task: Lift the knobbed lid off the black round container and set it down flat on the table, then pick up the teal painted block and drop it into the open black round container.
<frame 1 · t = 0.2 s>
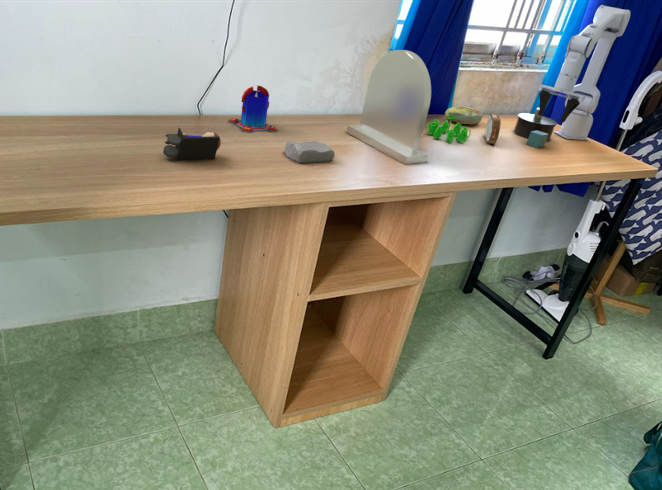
hand: (551, 118, 202), 11 cm above the table, tool pointing down, fingers open, 7 cm apart
block: (535, 145, 211), on the table
lid: (536, 120, 220), point 5 cm above the table, touching black round container
black round container: (531, 135, 223), on the table
cell model: (462, 122, 225), on the table
fantasy tower: (252, 126, 187), on the table
stone block: (307, 157, 169), on the table
character figurine: (192, 158, 157), on the table
award: (385, 147, 187), on the table
tin: (488, 140, 209), on the table
green bumpy cluster: (445, 137, 205), on the table
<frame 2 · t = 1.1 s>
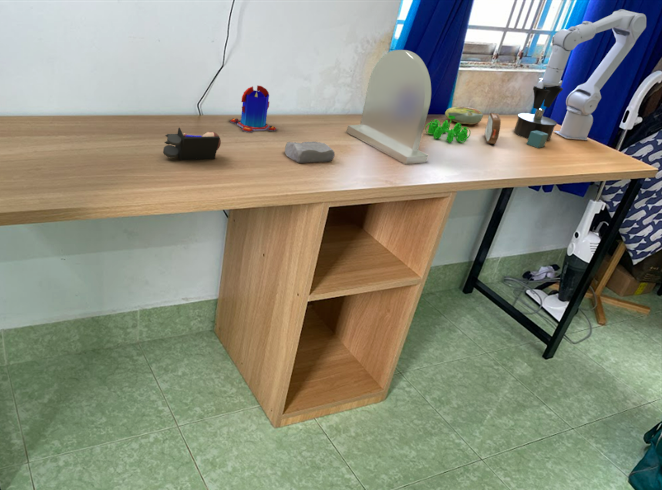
hand: (541, 107, 217), 10 cm above the table, tool pointing down, fingers open, 7 cm apart
nothing on the table moved.
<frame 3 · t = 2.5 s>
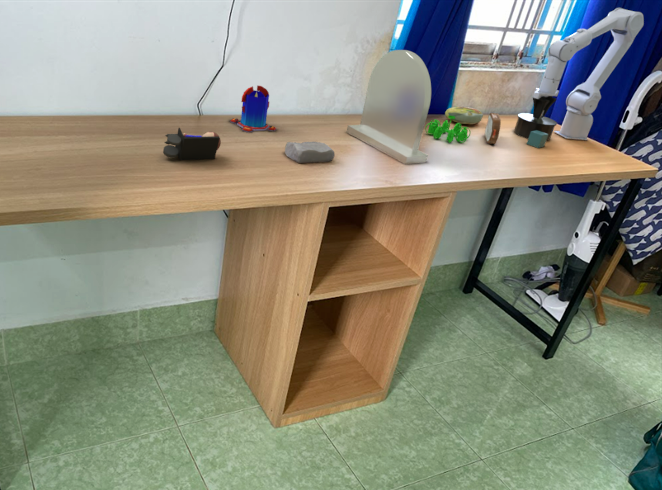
hand: (537, 117, 219), 6 cm above the table, tool pointing down, fingers closed on lid, 2 cm apart
lid: (536, 120, 220), point 5 cm above the table, touching black round container, gripper
everything else where it was.
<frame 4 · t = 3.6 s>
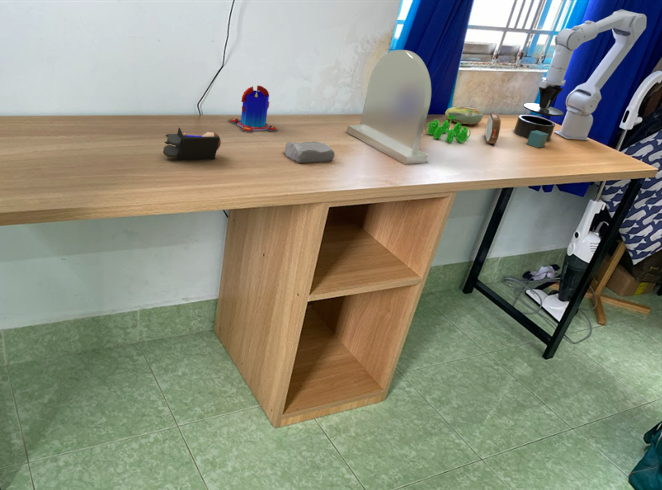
hand: (544, 107, 217), 10 cm above the table, tool pointing down, fingers closed on lid, 2 cm apart
lid: (543, 110, 217), point 9 cm above the table, touching gripper
everything else where it was.
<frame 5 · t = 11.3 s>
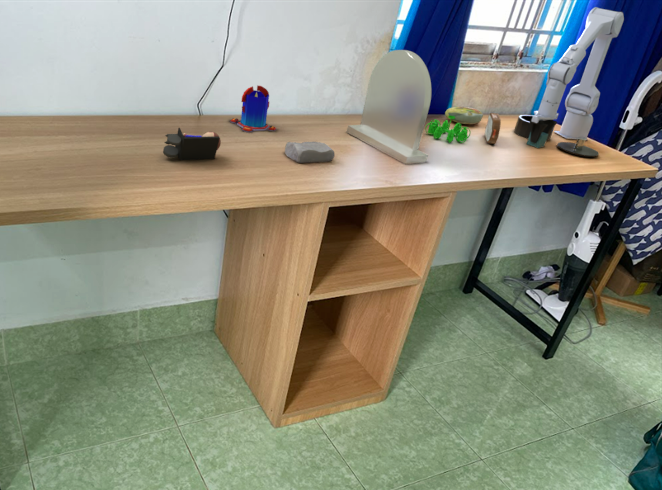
hand: (536, 141, 211), 1 cm above the table, tool pointing down, fingers closed on block, 4 cm apart
block: (535, 145, 211), on the table, touching gripper
lid: (577, 150, 211), point 1 cm above the table
everything else where it was.
when the fingers open (2 cm above the table, at t = 16.4 s): block stays where it is, resting on black round container.
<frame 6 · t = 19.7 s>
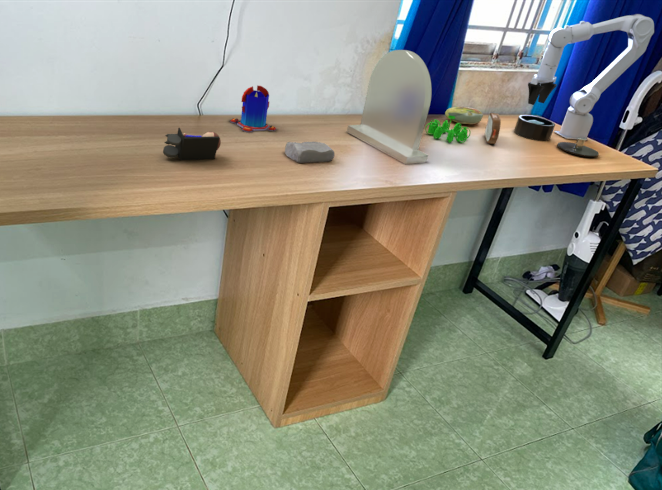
hand: (535, 103, 225), 9 cm above the table, tool pointing down, fingers open, 7 cm apart
block: (531, 134, 222), resting on black round container
everything else where it was.
at the end: lid inside the target area (0.0 cm from its centre), point 0.6 cm above the table; lid tilted 0°; block inside the target area in the black round container (0.1 cm from its centre), point 0.4 cm above the black round container's base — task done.
